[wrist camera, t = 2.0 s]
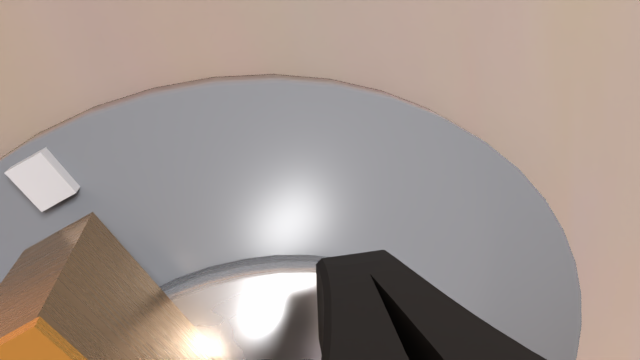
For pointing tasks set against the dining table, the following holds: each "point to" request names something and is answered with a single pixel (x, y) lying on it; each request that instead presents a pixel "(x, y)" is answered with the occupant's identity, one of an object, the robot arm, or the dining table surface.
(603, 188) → the dining table surface
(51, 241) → the dial
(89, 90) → the dining table surface
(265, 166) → the dial base
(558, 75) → the dining table surface
